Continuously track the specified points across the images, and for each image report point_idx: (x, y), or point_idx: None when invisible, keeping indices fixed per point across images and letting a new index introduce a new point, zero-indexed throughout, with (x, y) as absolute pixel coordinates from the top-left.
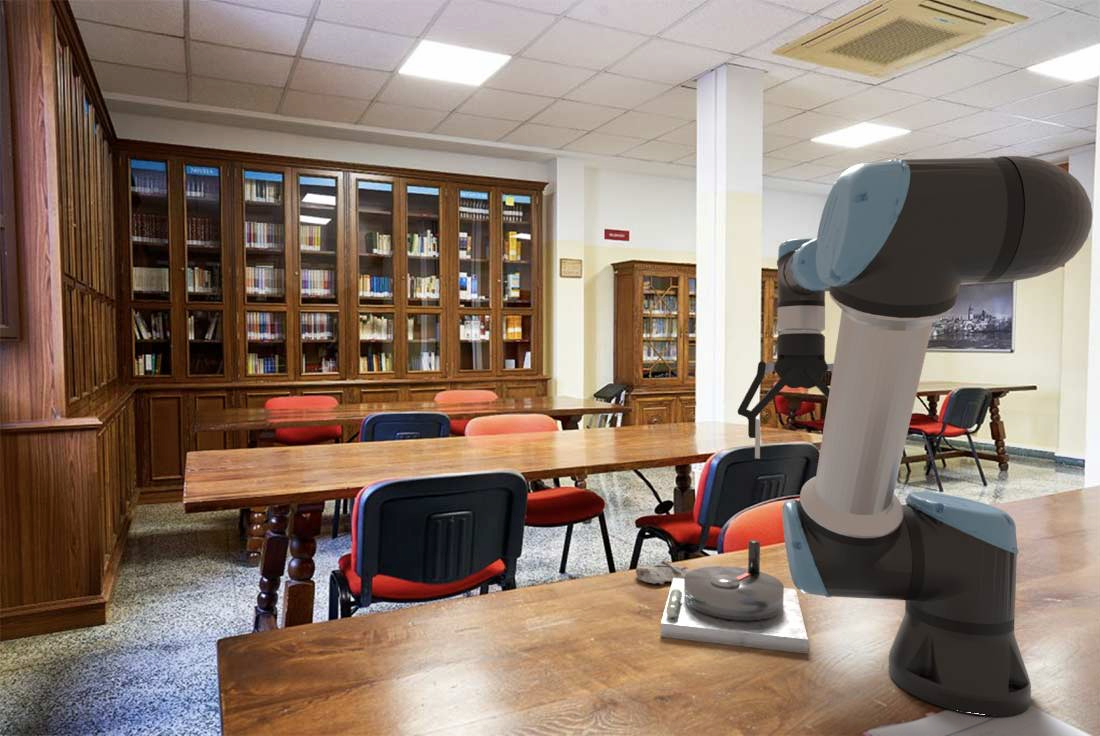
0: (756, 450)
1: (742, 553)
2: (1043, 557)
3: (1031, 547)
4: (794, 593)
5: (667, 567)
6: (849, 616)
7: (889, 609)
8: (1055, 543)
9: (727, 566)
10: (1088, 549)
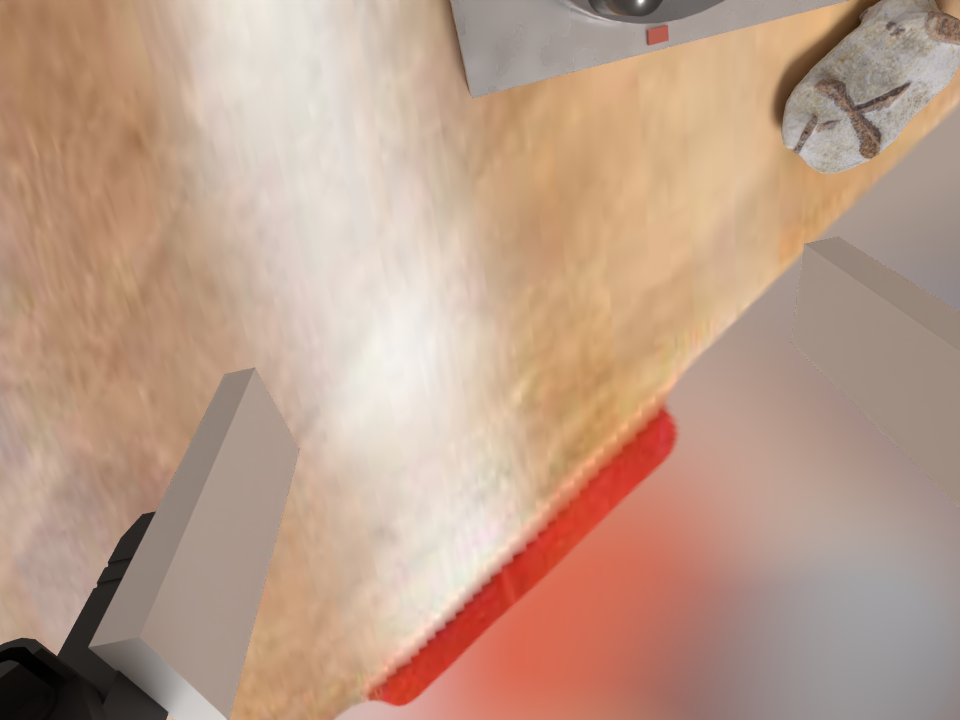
0: (868, 264)
1: (641, 397)
2: None
3: None
4: (469, 52)
5: (863, 102)
6: (311, 41)
7: (234, 163)
8: None
9: (701, 10)
10: None
